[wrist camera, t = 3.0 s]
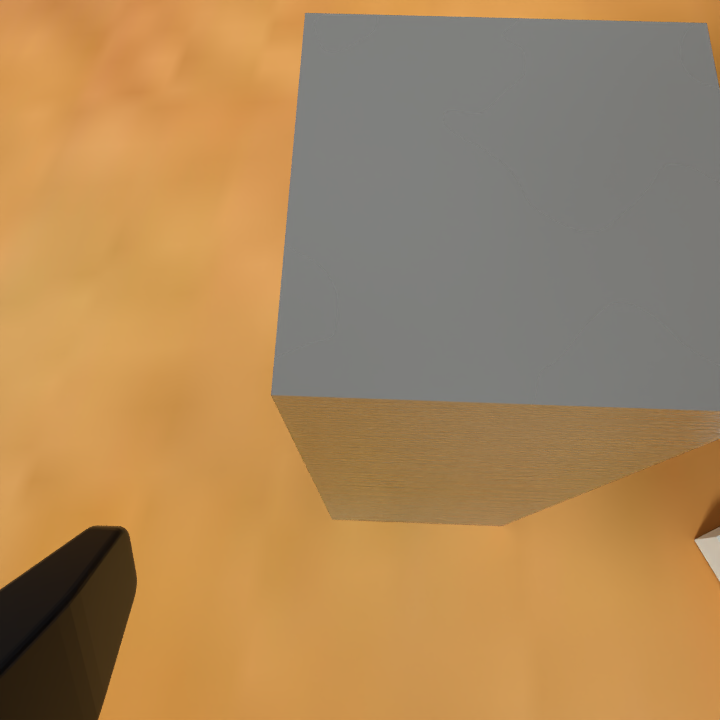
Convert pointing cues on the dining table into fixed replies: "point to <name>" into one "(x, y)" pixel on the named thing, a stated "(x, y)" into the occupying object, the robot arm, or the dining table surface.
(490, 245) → the brushed metal pillar
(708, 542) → the stand
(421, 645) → the dining table surface
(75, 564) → the robot arm
